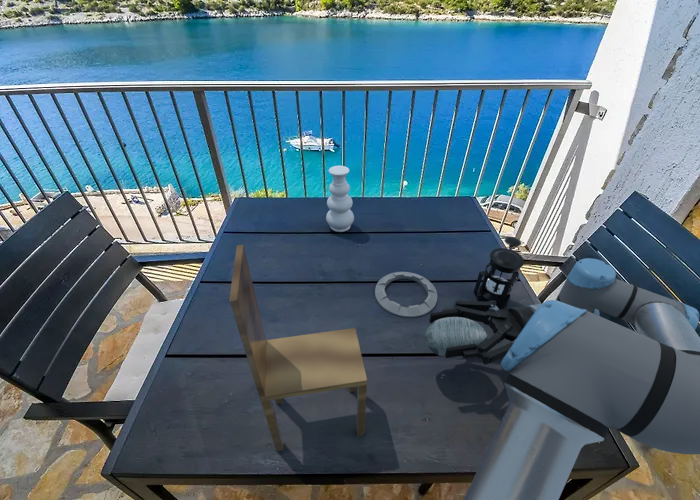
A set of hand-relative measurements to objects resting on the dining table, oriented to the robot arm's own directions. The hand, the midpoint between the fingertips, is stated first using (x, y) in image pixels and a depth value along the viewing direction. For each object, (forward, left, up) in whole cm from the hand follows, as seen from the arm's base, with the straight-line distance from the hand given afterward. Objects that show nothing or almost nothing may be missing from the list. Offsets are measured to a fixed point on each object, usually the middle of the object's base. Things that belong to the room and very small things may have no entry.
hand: (438, 334), depth 78 cm
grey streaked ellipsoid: (0, -5, -6) cm, 8 cm away
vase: (+68, +12, -16) cm, 71 cm away
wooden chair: (-6, +28, -16) cm, 33 cm away
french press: (+21, -28, -16) cm, 38 cm away
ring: (+28, -3, -16) cm, 32 cm away
